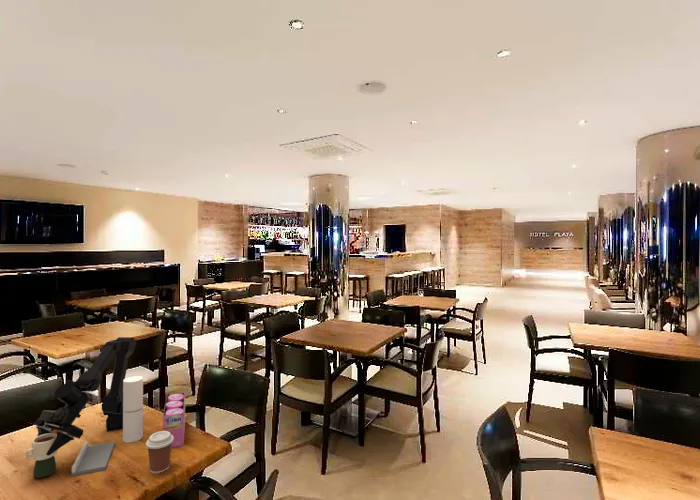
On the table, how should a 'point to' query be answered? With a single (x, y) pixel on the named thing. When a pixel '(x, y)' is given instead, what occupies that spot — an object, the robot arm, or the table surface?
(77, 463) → the shelf board
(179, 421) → the gum box
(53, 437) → the character mug
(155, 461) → the coffee cup
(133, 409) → the cylindrical container
